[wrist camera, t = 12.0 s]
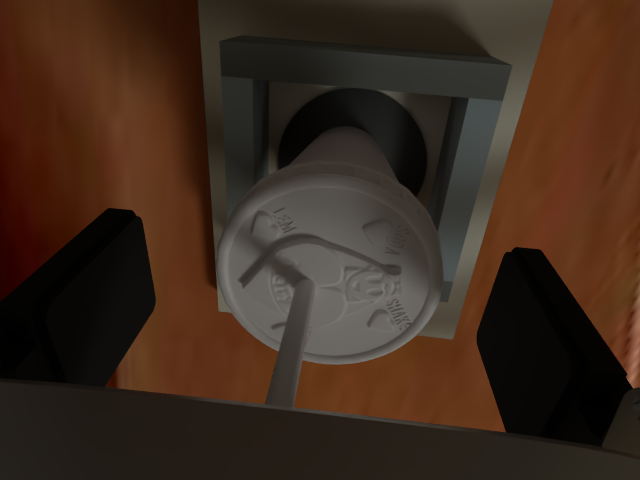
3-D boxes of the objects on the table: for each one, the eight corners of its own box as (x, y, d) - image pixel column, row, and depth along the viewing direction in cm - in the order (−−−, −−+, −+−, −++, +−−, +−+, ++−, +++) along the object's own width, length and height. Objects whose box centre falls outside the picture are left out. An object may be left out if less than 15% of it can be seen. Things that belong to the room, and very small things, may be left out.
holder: (203, -104, 17) (153, -136, 13) (563, -81, 16) (625, -108, 12) (226, 296, 27) (201, 346, 23) (448, 322, 26) (462, 378, 22)
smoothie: (267, 101, 19) (83, 280, 7) (413, 88, 18) (507, 266, 6) (288, 228, 22) (187, 508, 10) (413, 222, 21) (474, 522, 9)
